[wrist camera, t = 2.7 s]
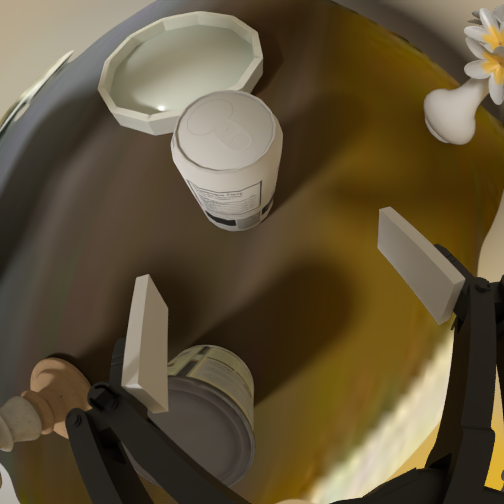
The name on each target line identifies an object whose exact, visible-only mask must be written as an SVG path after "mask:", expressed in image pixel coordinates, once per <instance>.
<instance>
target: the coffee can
mask: <svg viewBox="0 0 504 504" xmlns="http://www.w3.org/2000/svg"><path fill="white" fill-rule="evenodd" d="M167 378H168V412H161V413H152V412H151V411H150V410H149V409H148V417H149V418H151V419H152V420H153V422H154V423H155V424H156V425H157V426H158V427H159V428H160V429H161V430H162V431H163V432H164V433H165V434H166V435H167V436H168V437H169V438H171V439H172V440H173V441H174V442H175V443H176V444H177V445H178V446H179V447H180V448H181V449H182V450H183V451H185V452H186V453H187V454H188V455H189V456H190V457H191V458H192V459H194V460H195V461H196V462H197V463H198V464H199V465H201V466H202V467H203V468H204V469H205V470H207V471H208V472H209V473H210V474H212V475H213V476H214V477H215V478H217V479H218V480H219V481H220V482H222V483H223V484H224V485H226V486H227V487H228V488H230V487H232V486H233V485H235V484H236V483H238V482H239V481H240V480H241V479H242V478H243V477H244V476H245V475H246V473H247V472H248V470H249V469H250V467H251V465H252V463H253V459H254V455H255V439H254V434H253V396H254V382H253V378H252V375H251V373H250V371H249V369H248V367H247V366H246V364H245V363H244V362H243V361H242V360H241V359H240V358H239V357H238V356H237V355H235V354H234V353H233V352H231V351H229V350H227V349H225V348H222V347H219V346H214V345H197V346H194V347H191V348H188V349H186V350H184V351H183V352H181V353H180V354H178V355H177V356H176V357H175V358H174V359H173V360H171V361H170V362H169V363H168V364H167ZM121 443H122V442H121ZM122 445H123V447H124V449H125V451H126V454H127V456H128V458H129V460H130V462H131V464H132V466H133V467H134V469H135V470H136V471H137V472H138V473H139V474H140V475H141V476H143V477H144V478H145V479H147V480H148V481H150V482H152V483H153V484H155V485H157V486H160V485H159V484H158V483H157V481H156V480H155V479H154V478H153V477H152V476H151V475H150V474H149V473H148V472H147V471H146V470H145V469H144V468H143V466H142V465H141V464H140V463H139V462H138V461H137V460H136V458H135V457H134V456H133V455H132V454H131V453H130V451H129V450H128V449H127V448H126V447H125V445H124V444H123V443H122ZM160 487H161V486H160ZM161 488H162V487H161Z"/></svg>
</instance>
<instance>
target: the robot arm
mask: <svg viewBox="0 0 504 504" xmlns="http://www.w3.org/2000/svg"><path fill="white" fill-rule="evenodd" d="M377 248H378V249H379V250H380V251H381V253H382V254H383V255H384V256H385V257H386V259H387V260H388V261H389V262H390V263H391V264H392V266H393V267H394V268H395V269H396V270H397V272H398V273H399V274H400V275H401V277H402V278H403V279H404V280H405V282H406V283H407V284H408V285H409V287H410V288H411V289H412V290H413V292H414V293H415V294H416V295H417V297H418V298H419V299H420V301H421V302H422V303H423V305H424V306H425V307H426V309H427V310H428V311H429V313H430V314H431V315H432V317H433V318H434V319H435V321H436V322H437V323H438V325H440V324H442V323H444V322H446V321H447V320H449V319H450V317H451V315H452V313H453V311H454V313H455V314H456V315H457V316H456V318H455V320H454V323H453V325H452V327H451V330H453V328H454V326H455V329H454V342H453V353H452V361H451V369H450V376H449V383H448V389H447V394H446V400H445V405H444V410H443V414H442V419H441V423H440V428H439V432H438V435H437V439H436V442H435V445H434V447H433V449H432V450H431V452H430V454H429V456H428V459H427V462H426V464H425V467H424V468H423V469H416V468H414V469H412V470H410V471H408V472H406V473H404V474H402V475H400V476H398V477H396V478H394V479H392V480H390V481H388V482H385V483H383V484H381V485H379V486H378V487H376V488H375V489H373V490H372V491H370V492H369V493H368V494H366V495H365V496H363V497H362V498H355V499H348V500H340V501H336V502H333V503H330V504H504V486H503V488H502V490H501V491H499V490H496V489H492V488H489V487H486V486H484V485H485V481H486V477H487V474H488V470H489V466H490V461H491V457H492V452H493V447H494V442H495V432H494V431H493V430H492V429H491V420H492V413H493V403H494V393H495V380H496V365H497V371H498V377H499V383H500V390H501V398H502V408H503V419H504V275H503V276H502V278H501V280H500V282H493V283H489V281H487V280H486V279H484V278H481V277H476V278H475V277H474V276H473V275H472V274H471V273H470V272H469V271H468V270H467V269H466V268H465V267H464V266H463V265H462V264H461V263H460V262H459V261H457V259H456V258H455V257H454V256H452V254H451V253H450V252H449V251H448V250H447V249H446V248H444V247H442V246H441V245H439V244H435V245H432V244H431V243H430V242H429V241H428V240H427V239H426V238H425V237H424V236H423V235H422V234H421V233H419V232H418V231H417V230H416V229H415V228H414V227H413V226H412V225H411V224H410V223H409V222H407V221H406V220H405V219H404V218H403V217H402V216H401V215H400V214H398V213H397V212H396V211H395V210H394V209H393V208H391V207H386V208H382V209H379V231H378V247H377ZM167 338H168V307H167V306H166V304H165V302H164V300H163V299H162V297H161V295H160V293H159V292H158V290H157V288H156V286H155V284H154V283H153V281H152V279H151V277H150V275H149V274H147V275H144V276H140V277H137V278H136V282H135V288H134V293H133V299H132V305H131V311H130V317H129V324H128V331H127V337H123V338H118V339H117V341H116V343H115V345H114V347H113V353H112V360H111V367H110V375H109V383H107V382H103V381H101V382H97V383H96V384H94V385H93V386H92V387H91V388H90V389H89V392H88V394H87V401H88V404H89V405H90V406H91V407H92V409H90V410H87V411H84V410H82V409H81V408H73V409H71V410H70V411H69V412H68V414H67V415H66V418H65V427H66V430H67V434H68V437H69V441H70V444H71V447H72V450H73V453H74V456H75V459H76V462H77V465H78V468H79V471H80V473H81V476H82V479H83V481H84V484H85V486H86V488H87V491H88V493H89V496H90V498H91V500H92V502H93V504H154V503H153V501H152V500H151V498H150V496H149V495H148V493H147V491H146V489H145V488H144V486H143V484H142V482H141V481H140V479H139V477H138V475H137V473H136V471H135V469H134V467H133V466H132V464H131V462H130V460H129V458H128V456H127V454H126V451H125V449H124V447H123V445H122V443H123V444H124V445H125V447H126V448H127V449H128V450H129V451H130V453H131V454H132V455H133V456H134V457H135V458H136V460H137V461H138V462H139V463H140V464H141V465H142V466H143V468H144V469H145V470H146V471H147V472H148V473H149V474H150V475H151V476H152V477H153V478H154V479H155V480H156V481H157V483H158V484H159V485H160V486H161V487H162V488H163V489H164V490H165V491H166V492H167V493H168V494H170V495H171V496H172V497H173V498H174V499H175V500H176V501H177V502H178V503H179V504H251V503H249V502H248V501H247V500H245V499H244V498H242V497H241V496H239V495H238V494H237V493H235V492H234V491H232V490H231V489H230V488H228V487H227V486H226V485H224V484H223V483H222V482H220V481H219V480H218V479H217V478H215V477H214V476H213V475H212V474H210V473H209V472H208V471H207V470H205V469H204V468H203V467H202V466H201V465H199V464H198V463H197V462H196V461H195V460H194V459H192V458H191V457H190V456H189V455H188V454H187V453H186V452H185V451H183V450H182V449H181V448H180V447H179V446H178V445H177V444H176V443H175V442H174V441H173V440H172V439H171V438H169V437H168V436H167V435H166V434H165V433H164V432H163V431H162V430H161V429H160V428H159V427H158V426H157V425H156V424H155V423H154V422H153V420H152V419H151V418H149V417H148V409H149V410H150V411H151V412H152V413H161V412H168V378H167ZM121 442H122V443H121ZM501 478H502V480H503V481H504V470H503V472H502V475H501Z"/></svg>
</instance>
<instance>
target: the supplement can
mask: <svg viewBox="0 0 504 504" xmlns="http://www.w3.org/2000/svg"><path fill="white" fill-rule="evenodd" d="M282 141H283V133H282V130H281V128H280V125H279V122H278V119H277V118H276V117H275V116H274V115H273V114H272V112H271V110H270V109H269V108H268V107H267V106H266V104H265V103H264V102H263V101H262V100H261V99H259V98H257V97H255V96H253V95H251V94H249V93H247V92H243V91H237V90H220V91H214V92H211V93H208V94H205V95H203V96H200V97H198V98H197V99H196V100H194V101H193V102H192V103H190V104H189V105H188V106H186V108H185V109H184V110H183V112H182V113H181V115H180V116H179V117H178V119H177V123H176V126H175V130H174V133H173V137H172V141H171V150H172V156H173V161H174V163H175V164H176V166H177V168H178V169H179V171H180V173H181V175H182V176H183V178H184V180H185V181H186V183H187V185H188V186H189V188H190V190H191V191H192V193H193V195H194V196H195V198H196V200H197V201H198V203H199V205H200V206H201V208H202V210H203V211H204V213H205V214H206V216H207V217H208V219H209V220H210V221H211V222H212V223H214V224H215V225H216V226H218V227H219V228H222V229H226V230H229V231H244V230H247V229H250V228H252V227H254V226H257V225H258V224H259V223H260V222H261V221H262V220H263V219H265V218H266V217H267V215H268V213H269V211H270V209H271V207H272V204H273V198H274V193H275V187H276V181H277V176H278V170H279V164H280V158H281V152H282Z"/></svg>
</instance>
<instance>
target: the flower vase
mask: <svg viewBox="0 0 504 504" xmlns="http://www.w3.org/2000/svg"><path fill="white" fill-rule="evenodd" d="M472 15H474V16H475V17H477V18H478V19H480V20H475V19H474V20H469V21H468V22H469V23H475V24H479V25H483V26H484V28H485V29H486V30H484V29H483V28H481V27H477V26H468V27H466V28H465V29H464V32H465V34H466V35H468V36H469V37H466V43H467V45H468V47H469V49H470V50H471V51H472V53H474V55H476V56H477V57H478V58H480V59H483V60H478V61H473V62H470V63H468V64H467V65H466V66H465V67H464V71H465V73H466V74H467V75H468V76H470V77H471V78H470V79H469V80H468V81H467V82H466V83H465V84H463V85H462V86H461V87H459V88H457V89H454V90H449V89H436V90H433V91H431V92H430V93H429V94H428V95H427V96H426V97H425V100H424V113H425V123H426V126H427V128H428V129H429V131H430V132H431V134H432V135H433V136H434V137H435V138H437V139H438V140H440V141H441V142H444V143H452V144H456V145H464V144H466V143H468V142H470V140H471V139H472V137H473V136H474V134H475V128H476V121H475V113H476V110H477V108H478V106H479V104H480V103H481V101H482V100H483V99H484V98H485V97H486V96H487V94H488V93H490V95H491V98H492V100H493V101H494V103H495V104H497V105H500V104H501V103H502V102H503V99H504V5H500V6H498V7H497V8H495V10H494V11H493V15H492V13H491V12H489V10H487V9H485V8H481V9H480V10H479V11H473V12H472ZM477 40H479V41H482V42H484V43H487V44H485V45H484V46H483V45H482V44H481V43H480V42H478V41H477Z"/></svg>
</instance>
